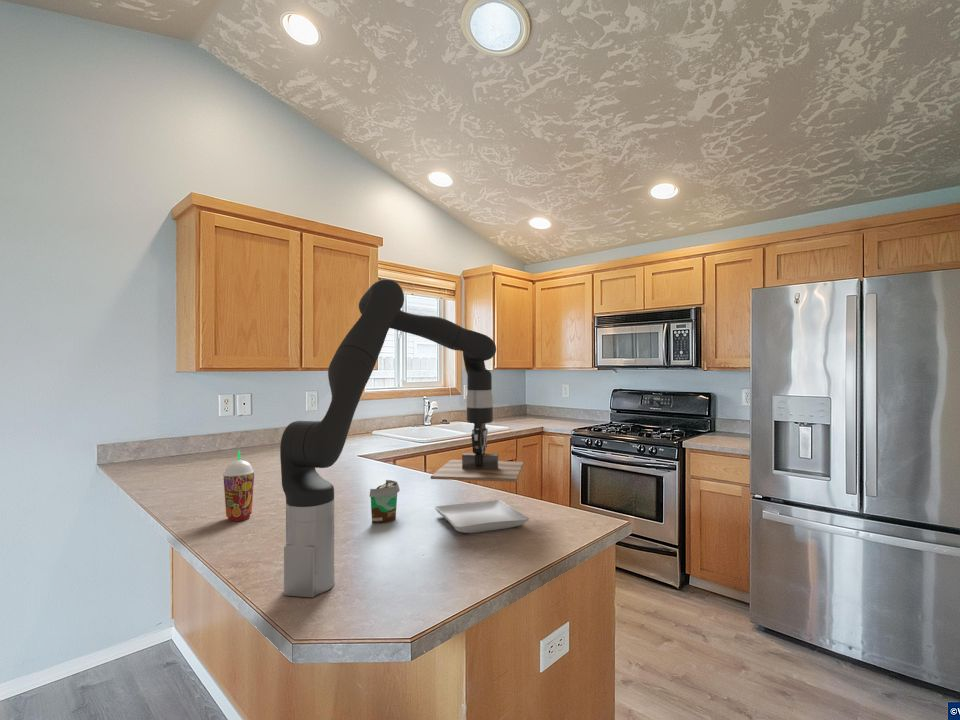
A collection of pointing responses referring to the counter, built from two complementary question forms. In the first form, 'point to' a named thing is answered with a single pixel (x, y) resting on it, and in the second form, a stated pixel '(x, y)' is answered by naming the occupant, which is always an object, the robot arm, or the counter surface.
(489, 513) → the salad plate
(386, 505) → the food container
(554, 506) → the counter surface
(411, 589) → the counter surface
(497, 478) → the cover board
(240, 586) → the counter surface
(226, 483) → the smoothie
